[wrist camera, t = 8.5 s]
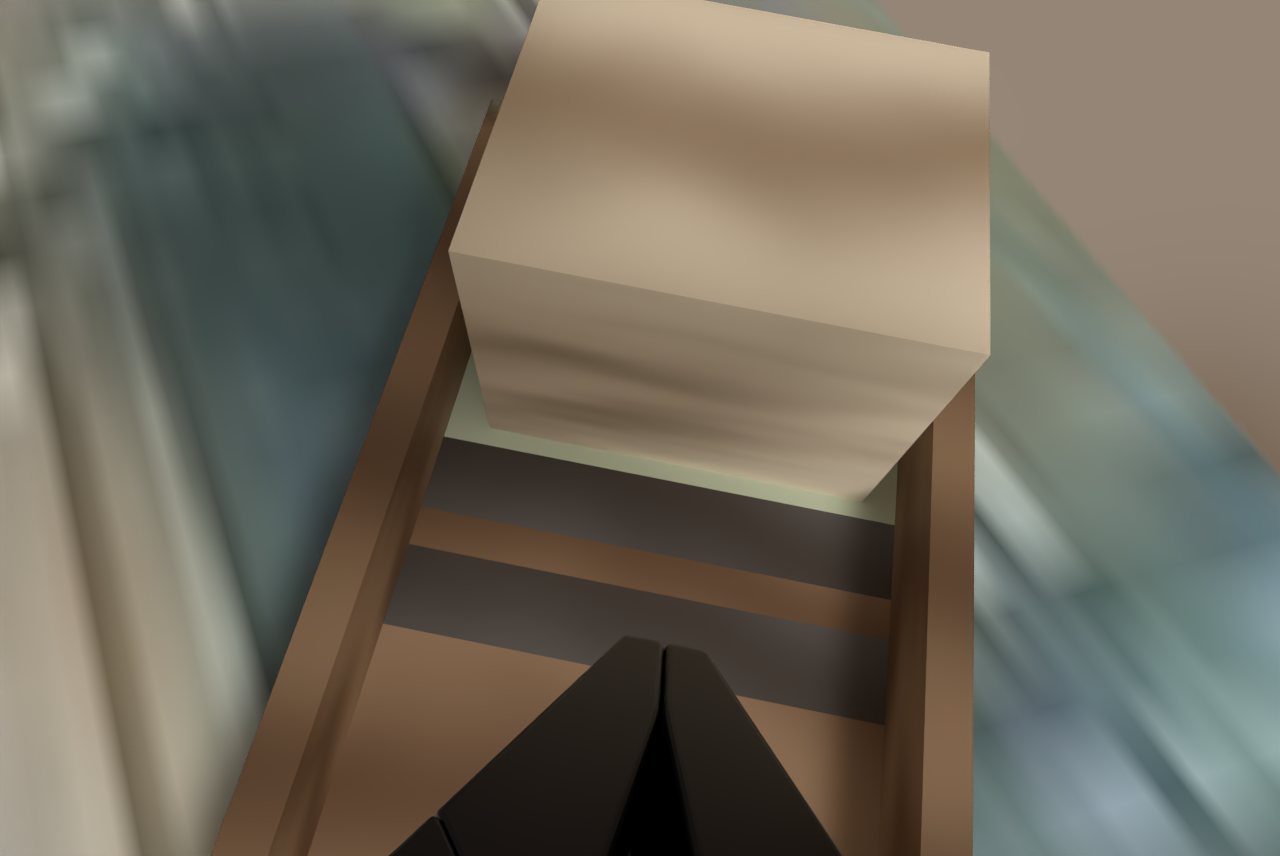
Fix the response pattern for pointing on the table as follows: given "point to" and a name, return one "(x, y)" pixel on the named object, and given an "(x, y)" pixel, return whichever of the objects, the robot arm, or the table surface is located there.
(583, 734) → the robot arm
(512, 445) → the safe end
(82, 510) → the table surface
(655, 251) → the birch block
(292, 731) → the channel
